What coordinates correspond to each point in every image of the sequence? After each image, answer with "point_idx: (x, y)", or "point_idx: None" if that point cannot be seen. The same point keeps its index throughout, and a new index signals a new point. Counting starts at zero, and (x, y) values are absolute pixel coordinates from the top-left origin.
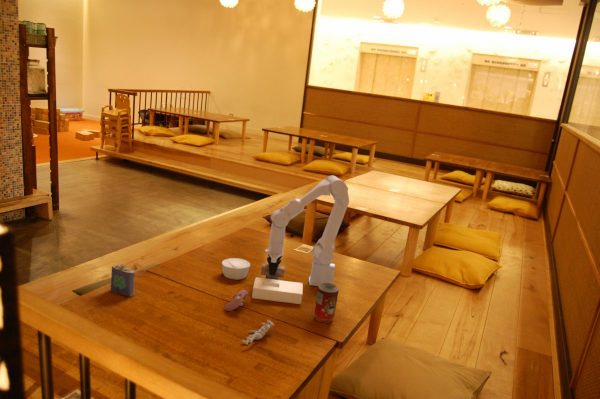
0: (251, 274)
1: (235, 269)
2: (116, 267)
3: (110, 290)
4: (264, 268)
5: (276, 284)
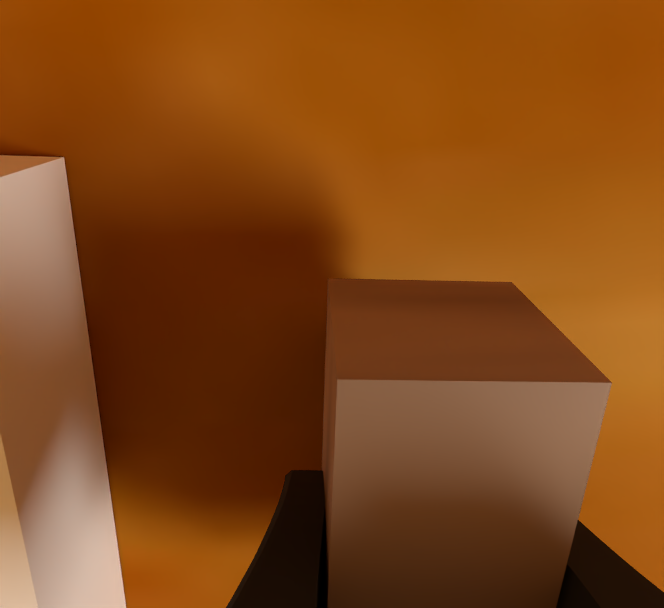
0: (648, 42)
1: None
2: None
3: None
4: (333, 429)
5: None
